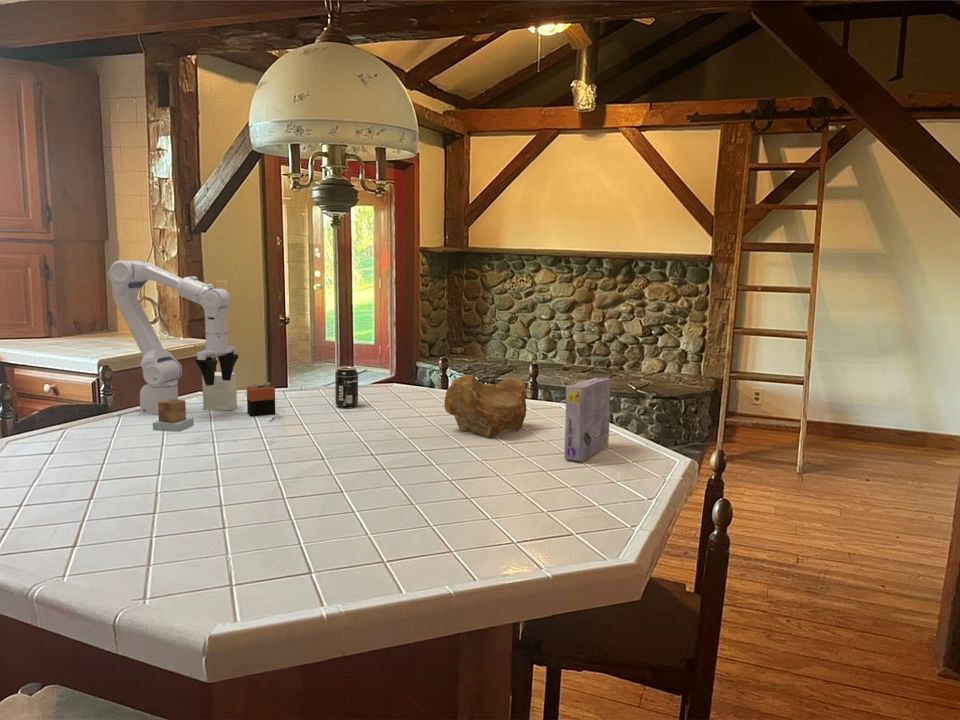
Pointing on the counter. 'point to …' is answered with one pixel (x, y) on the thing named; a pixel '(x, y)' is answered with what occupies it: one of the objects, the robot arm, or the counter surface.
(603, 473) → the counter surface
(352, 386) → the beverage can
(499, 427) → the rough brown rock
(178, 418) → the walnut block
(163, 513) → the counter surface
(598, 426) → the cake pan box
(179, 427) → the gray slab
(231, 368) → the robot arm
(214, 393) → the small box
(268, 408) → the battery
